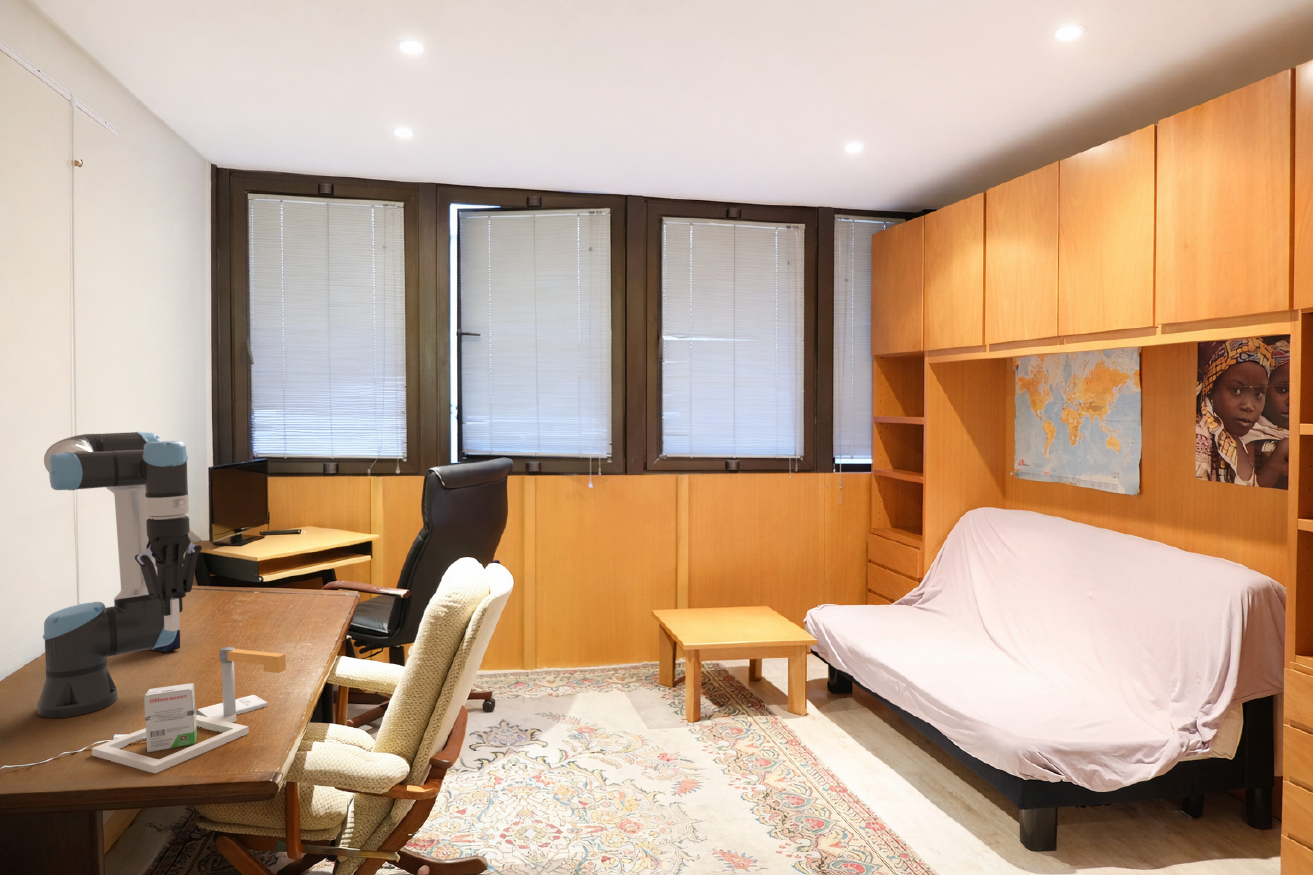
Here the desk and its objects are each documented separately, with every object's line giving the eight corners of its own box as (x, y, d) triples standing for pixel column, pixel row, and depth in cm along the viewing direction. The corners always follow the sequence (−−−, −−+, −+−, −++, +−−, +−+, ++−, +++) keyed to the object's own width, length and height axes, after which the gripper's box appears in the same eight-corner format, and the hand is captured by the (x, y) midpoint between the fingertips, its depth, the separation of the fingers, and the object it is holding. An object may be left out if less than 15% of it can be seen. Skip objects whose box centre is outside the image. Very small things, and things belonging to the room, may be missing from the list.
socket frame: (92, 755, 159) (89, 689, 158) (205, 712, 181) (202, 654, 180) (155, 773, 150) (152, 703, 150) (265, 725, 172) (263, 664, 172)
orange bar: (277, 673, 169) (276, 656, 169) (216, 667, 174) (216, 650, 174) (287, 669, 172) (286, 652, 171) (228, 662, 177) (227, 646, 176)
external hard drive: (196, 715, 180) (253, 700, 189) (209, 725, 174) (267, 708, 184) (196, 708, 180) (253, 693, 189) (209, 717, 174) (267, 701, 184)
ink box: (198, 735, 167) (195, 681, 167) (195, 744, 163) (192, 688, 162) (150, 743, 164) (148, 687, 164) (146, 752, 159) (143, 695, 159)
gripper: (148, 521, 154) (152, 640, 156) (209, 512, 166) (213, 623, 167) (123, 519, 158) (128, 636, 159) (185, 511, 169) (190, 619, 171)
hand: (172, 629), depth 163 cm, fingers closed
